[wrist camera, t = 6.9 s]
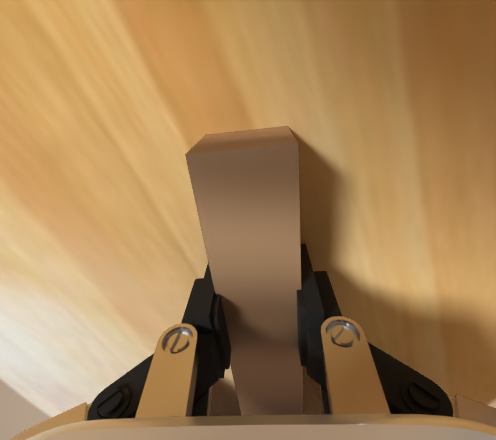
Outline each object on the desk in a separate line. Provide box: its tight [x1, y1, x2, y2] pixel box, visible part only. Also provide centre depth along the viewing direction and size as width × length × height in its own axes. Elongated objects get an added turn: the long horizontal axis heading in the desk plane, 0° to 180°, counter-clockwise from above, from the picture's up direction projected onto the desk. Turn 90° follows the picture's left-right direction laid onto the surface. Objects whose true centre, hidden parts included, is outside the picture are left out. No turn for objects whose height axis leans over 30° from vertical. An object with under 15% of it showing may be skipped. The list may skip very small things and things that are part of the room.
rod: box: [185, 126, 304, 416], centre depth 14 cm, size 25×3×3 cm, turn 6°
